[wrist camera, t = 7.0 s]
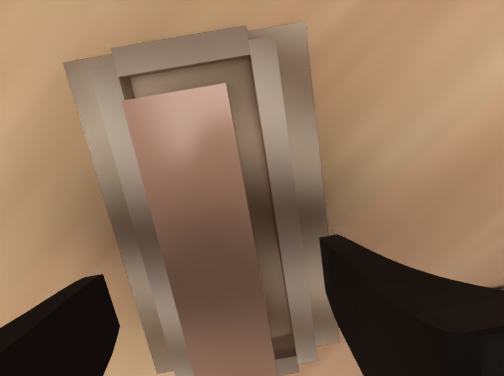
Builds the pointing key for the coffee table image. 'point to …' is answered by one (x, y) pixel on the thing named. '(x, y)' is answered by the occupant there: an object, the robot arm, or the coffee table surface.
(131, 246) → the framed rectangular tray
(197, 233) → the clay strip
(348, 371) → the coffee table surface
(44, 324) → the robot arm
